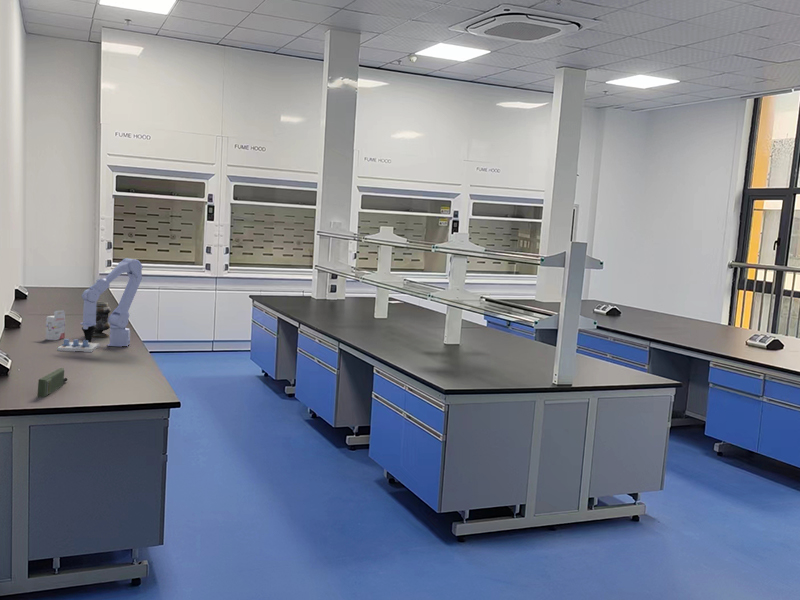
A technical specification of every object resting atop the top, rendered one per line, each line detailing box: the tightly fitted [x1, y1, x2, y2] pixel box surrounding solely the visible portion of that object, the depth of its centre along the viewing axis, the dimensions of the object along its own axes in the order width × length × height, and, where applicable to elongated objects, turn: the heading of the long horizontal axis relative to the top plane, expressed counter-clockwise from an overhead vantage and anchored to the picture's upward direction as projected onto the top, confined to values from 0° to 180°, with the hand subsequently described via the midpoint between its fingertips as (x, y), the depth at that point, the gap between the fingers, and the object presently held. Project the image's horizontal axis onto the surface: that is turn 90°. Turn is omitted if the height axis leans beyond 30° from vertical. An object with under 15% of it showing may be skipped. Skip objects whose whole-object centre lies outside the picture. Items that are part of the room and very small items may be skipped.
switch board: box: [57, 341, 101, 353], centre depth 347 cm, size 15×16×2 cm
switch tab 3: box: [81, 339, 90, 347], centre depth 346 cm, size 3×3×3 cm
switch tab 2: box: [72, 338, 80, 346], centre depth 346 cm, size 3×3×3 cm
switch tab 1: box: [61, 338, 71, 346], centre depth 345 cm, size 3×3×3 cm
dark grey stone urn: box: [92, 301, 112, 338], centre depth 385 cm, size 12×12×18 cm
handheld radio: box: [36, 367, 68, 398], centre depth 266 cm, size 7×3×25 cm
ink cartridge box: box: [45, 309, 66, 341], centre depth 367 cm, size 9×5×15 cm, turn 168°
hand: (88, 341), depth 352 cm, fingers closed
